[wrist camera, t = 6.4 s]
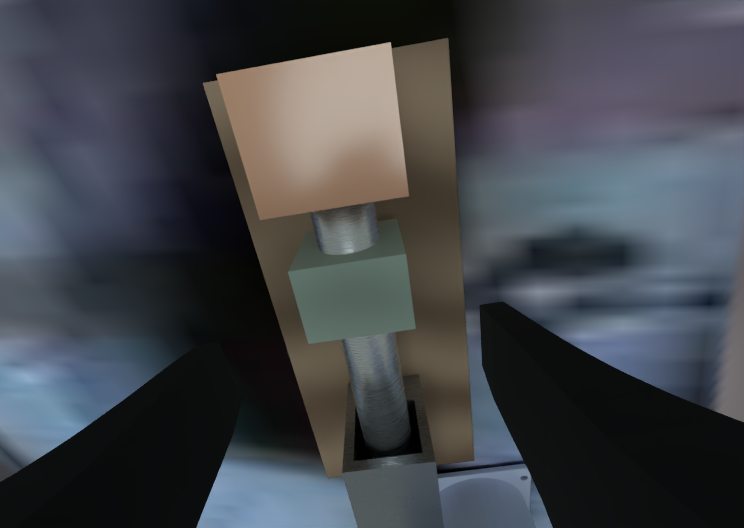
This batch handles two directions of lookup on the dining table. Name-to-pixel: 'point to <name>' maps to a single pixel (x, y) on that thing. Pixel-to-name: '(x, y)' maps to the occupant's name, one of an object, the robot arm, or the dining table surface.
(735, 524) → the robot arm
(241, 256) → the dining table surface
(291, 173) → the tube stand
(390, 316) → the tube
